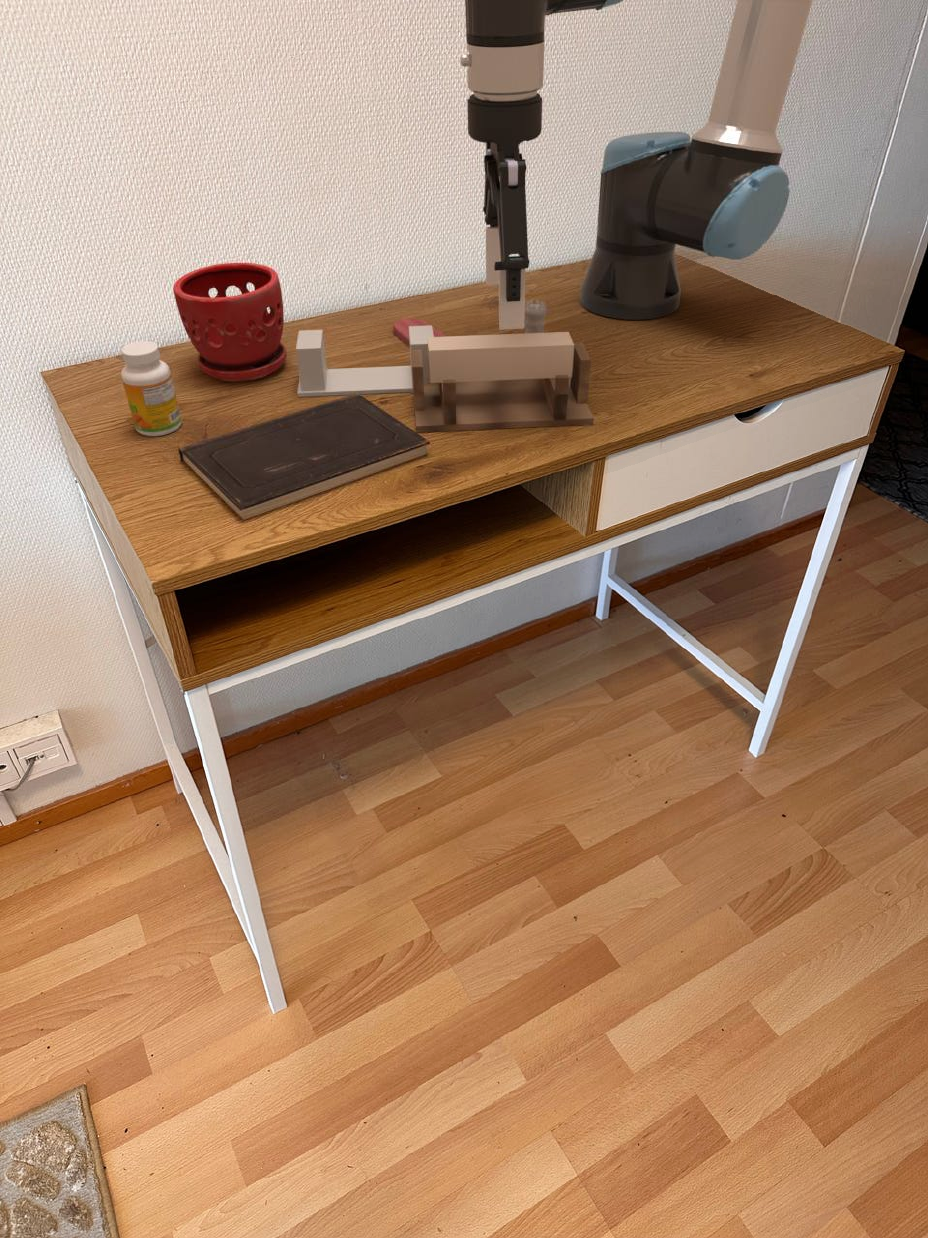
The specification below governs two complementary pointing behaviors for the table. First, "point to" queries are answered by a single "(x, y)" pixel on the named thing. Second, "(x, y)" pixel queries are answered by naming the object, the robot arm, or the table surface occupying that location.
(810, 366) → the table surface
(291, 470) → the hardcover book
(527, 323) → the rook chess piece
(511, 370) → the beige rectangular bar
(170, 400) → the supplement bottle
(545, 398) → the rack
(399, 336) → the popsicle
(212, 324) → the plant pot
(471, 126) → the robot arm
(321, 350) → the stand
